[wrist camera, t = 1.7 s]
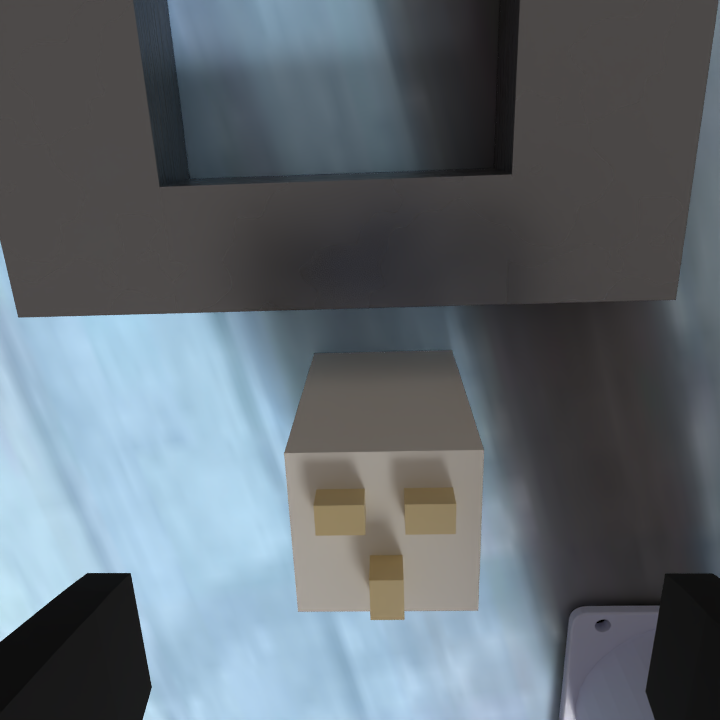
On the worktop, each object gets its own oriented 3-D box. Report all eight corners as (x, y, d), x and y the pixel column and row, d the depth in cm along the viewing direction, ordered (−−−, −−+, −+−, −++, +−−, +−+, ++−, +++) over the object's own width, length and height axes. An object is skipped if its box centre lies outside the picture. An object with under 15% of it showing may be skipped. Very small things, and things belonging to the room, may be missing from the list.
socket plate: (704, -292, 13) (793, -408, 10) (636, 277, 17) (687, 306, 14) (-46, -243, 14) (-157, -341, 11) (64, 293, 18) (4, 324, 15)
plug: (452, 349, 18) (491, 470, 12) (449, 471, 19) (483, 638, 13) (314, 353, 18) (278, 473, 12) (322, 473, 20) (293, 638, 13)
